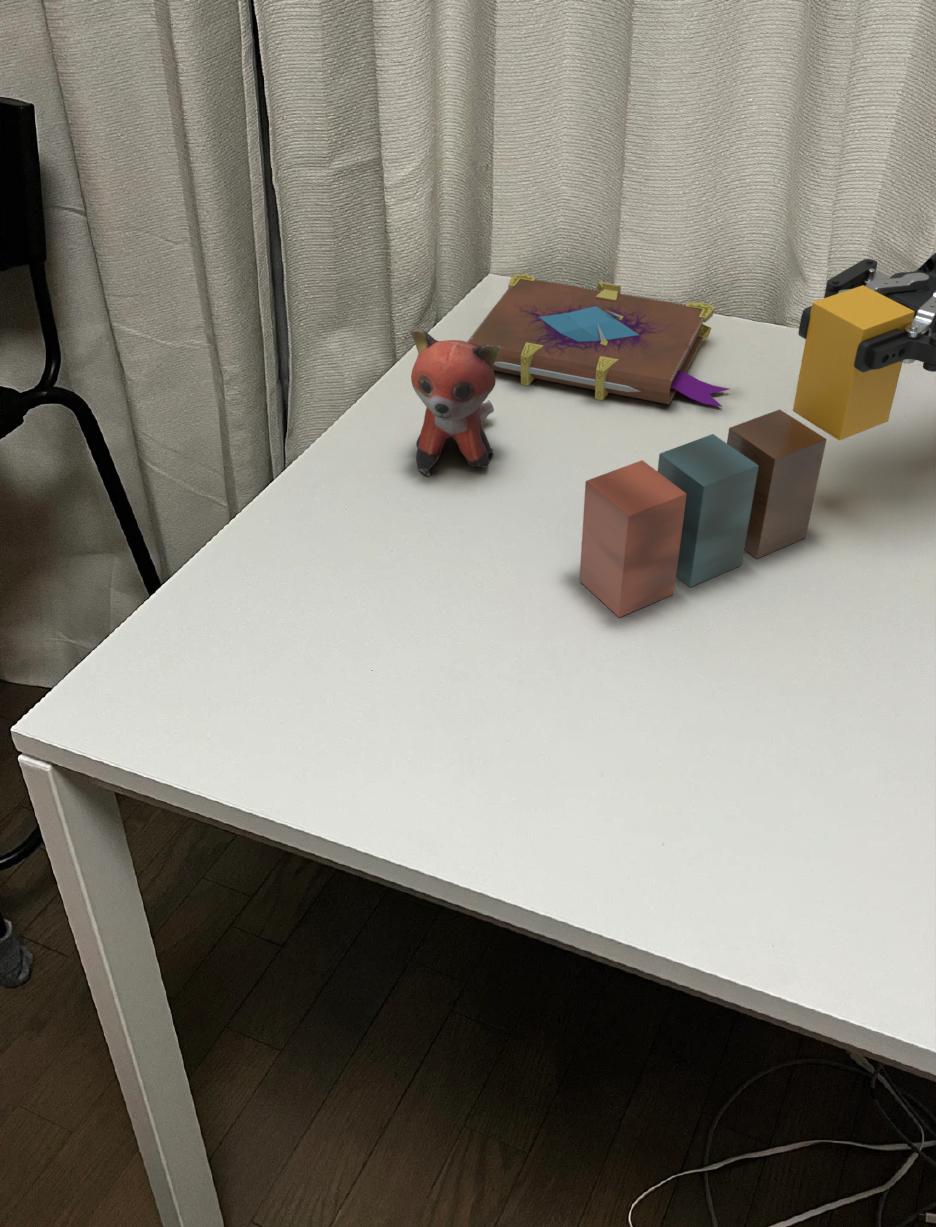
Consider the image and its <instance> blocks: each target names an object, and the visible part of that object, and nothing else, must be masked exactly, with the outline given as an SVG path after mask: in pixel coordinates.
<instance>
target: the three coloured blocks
mask: <svg viewBox="0 0 936 1227" xmlns="http://www.w3.org/2000/svg"><path fill="white" fill-rule="evenodd" d="M826 445H827V438H826V437H824V436H822V434H820V433H818V432H816V431H815V430H813V429H812V428H810V427H808V426H807V425H805V424H804V423H802V422H800V421H799V420H798V419H796V418H794V417H792V416H791V415H790V414H788V413H786V412H785V411H783V410H782V409H777V410H774V411H771V412H769V413H766V414H763V415H761V416H757V417H754V418H752V419H750V420H747V421H744V422H741V423H739V424H736V425H733V426H730V427H728V433H727V440H726V441H724V440H723V439H721V438H720V437H718V436H717V435H715V434H714V433H712V434H711V433H710V434H709V435H706V436H703V437H701V438H698V439H696V440H693V441H690V442H687V443H684V444H682V445H678V446H677V447H674V448H670V449H668V450H665V451H662V452H660V453H659V454H658V463H657V469H655V468H654V467H652V466H651V465H650V464H648V463H647V462H646V461H644V460H642V459H641V460H638V461H636V462H633V463H631V464H628V465H625V466H622V467H619V468H617V469H614V470H611V471H608V472H606V473H604V474H601V475H598V476H595V477H593V478H590V479H587V480H585V484H584V499H583V514H582V515H583V516H582V517H583V519H582V532H581V533H582V534H581V548H580V562H579V566H580V567H579V578H578V580H579V582H580V583H581V584H582V585H583V586H584V587H585V588H587V589H588V591H589V592H591V593H592V594H593V596H595V597H596V598H597V599H598V600H600V601H601V602H602V603H603V604H604V605H605V606H606V607H607V608H608V609H610V611H611V612H612V613H613V614H614V615H616V616H617V617H618V618H622V617H625V616H627V615H629V614H631V613H634V612H636V611H639V610H641V609H643V608H645V607H647V606H650V605H652V604H654V603H656V602H659V601H661V600H663V599H666V598H669V597H671V596H673V595H675V586H676V579H677V578H678V579H680V581H682V582H683V583H684V584H685V585H687V586H688V587H689V588H692V587H694V586H696V585H699V584H702V583H703V582H707V581H708V580H711V579H713V578H715V577H717V576H720V575H722V574H725V573H727V572H729V571H732V570H734V569H736V568H740V567H741V566H742V563H743V558H744V552H745V551H746V552H747V553H749V555H751V556H753V557H754V558H755V559H761V558H762V557H764V556H766V555H769V554H771V553H774V552H776V551H778V550H780V549H783V548H785V547H788V546H790V545H792V544H795V543H797V542H799V541H801V540H804V539H806V538H807V533H808V529H809V523H810V519H811V515H812V510H813V505H814V500H815V496H816V492H817V491H816V490H817V486H818V482H819V477H820V473H821V472H820V471H821V467H822V464H823V459H824V453H825V450H826Z"/></svg>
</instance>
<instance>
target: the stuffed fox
mask: <svg viewBox="0 0 936 1227" xmlns="http://www.w3.org/2000/svg"><path fill="white" fill-rule="evenodd" d="M410 334H411V337H412V339H413V342H414V344H415V347H416V350H417V353H418V354H417V357H416V360H415V362H414V364H413V366H412V370H411V374H410V382H411V386H412V388H413V390H414V392H415V394H416V395H417V397H418V398H419V399H420V400H421V402H422V403H423V404H424V406H425V407H426V408H425V413H424V417H423V423H422V427H421V430H420V433H419V436H418V438H417V440H416V444H415V445H416V448H417V450H416V456H415V460H416V465H417V468H418V470H419V471H420V472H421V473H422V474H423V475H424V476H425V477H430V476H431V473H430V469H431V468H432V467H433V466H434V465H435V464H436V462H437V461H438V460H439V458H440V456H441V454H442V453H441V452H442V450H443V448H444V445H445V443H446V441H447V439H449V438H452V439H454V441H455V442H456V444H457V445H458V449H459V452H460V453H461V455H463V457H464V458H465V459H466V461H467V464H468V466H470V467H473V468H474V467H479V468H481V467H482V468H485V469H488V466H489V465H490V459H491V457H492V456H493V455H494V448H491V446H490V442H489V440H488V437H487V434H486V433H485V429H484V427H483V423H484V422H485V420H486V419H487V418H488V416H490V414H493V413H494V412H495V408H494V405H493V403H492V402H491V401H490V400H487V399H488V397H489V395H490V394H491V393H492V391H493V390H494V388H495V386H496V376H495V371H494V370H493V365H494V363H495V361H496V359H497V357H498V353H499V352H500V350H501V347H500V346H497V345H494V344H485V345H482V346H479V347H475V346H474V345H472V344H470V343H468V342H467V341H465V340H458V339H448V340H447V339H446V340H437V339H435V338H434V337H433V336H432V335H431V334H429V333H428V332H426V331H425V330H422V329H412V330H411V331H410ZM486 400H487V401H486Z"/></svg>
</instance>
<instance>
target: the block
mask: <svg viewBox="0 0 936 1227" xmlns="http://www.w3.org/2000/svg"><path fill="white" fill-rule="evenodd" d="M811 306H812V308H811V314H810V320H809V325H808V331H807V336H806V339H805V341H804V347H803V353H802V357H801V363H800V368H799V375H798V378H797V383H796V384H797V385H796V389H795V390H796V391H795V396H794V402H793V405H792V406H793V407H792V412H793V413H794V414H796V415H798V416H799V417H801V418H803V419H804V420H806V421H807V422H809V423H810V424H812V425H814V426H815V427H817V428H818V429H820V430H822V431H823V432H825V433H826V434H828V435H830V436H831V437H833V438H834V439H836V440H838V441H843V440H845V439H847V438H850V437H852V436H855V435H857V434H860V433H862V432H865V431H868V430H870V429H872V428H876V427H878V426H879V425H882V424H884V423H887V422H889V420H890V415H891V410H892V406H893V403H894V398H895V394H896V390H897V387H898V382H899V378H900V375H901V370H902V366H903V363H902V362H897V363H894V364H892V365H889V366H885V367H884V368H881V369H874V370H869V371H867V372H861V371H859V370H858V369H856V368H855V367H854V362H855V357H856V352H857V348H858V345H859V344H860V343H861V342H862V341H864V340H866V339H869V338H872V337H874V336H877V335H880V334H883V333H886V332H888V331H891V330H894V329H897V328H898V329H900V330H902V331H904V329H905V326H906V325H908V324H909V323H910V322H912V321H913V317H914V313H915V311H913V310H911V309H909V308H907V307H905V306H903V305H901V304H899V303H897V302H895V301H893V300H891V299H889V298H887V297H885V296H883V295H881V294H879V293H877V292H875V291H873V290H871V289H869V288H868V287H866V286H864V285H862V286H860V287H857V288H854V289H851V290H848V291H845V292H842V293H839V294H836V295H833V296H830V297H827V298H824V297H823V298H821V299H817V300H815V301H813V302H812V304H811Z"/></svg>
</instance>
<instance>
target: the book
mask: <svg viewBox="0 0 936 1227" xmlns="http://www.w3.org/2000/svg"><path fill="white" fill-rule="evenodd" d="M507 287H508V288H507V289H506V291H505V292H504V293H503V294H502V296H501V297H500V298H499V300H498V301H497V302H496V304H494V306H493V307H492V309H491V310H490V312H488V314H487V315H486V316H485V318H484V319H483V321H482V322H481V323H480V324H479V325H478V327H477V328H476V330H475V331H474V332H473V334H472V335H471V336H470V337H469V338H468V340H467V341H466V342H468V343H470V344H472V345H474V346H475V347H479V346H482V345H485V344H494V345H497V346H500V347H501V350H500V352H499V353H498V357H497V359H496V361H495V363H494V365H493V371H494V372H499V373H503V374H508V375H509V374H511V375H515V376H520V385H522V386H528V387H529V386H530V385H531V384H532V382H533V381H534V380H535V379H536V380H541V381H547V382H550V383H556V384H561V385H567V386H570V387H571V386H572V387H577V388H582V389H588V390H592V391H595V392H594V399H595V400H597V401H604V400H605V398H606V397H607V396H608V394H613V395H618V396H623V397H628V398H634V399H637V400H638V399H640V400H644V401H648V402H653V403H659V404H665V405H671V403H672V401H673V398H674V397H675V395H676V393H677V392H679V394H682V395H684V396H685V397H687V398H688V399H690V400H693V401H696V402H698V403H700V404H703V405H708V406H715V407H722V408H723V406H724V405H723V406H722V404H721V403H720V402H718V401H717V400H716V399H715V398H714V397H713V396H712V395H713V394H717V393H720V392H725V391H728V390H730V388H728V387H723V386H719V385H714V384H711V383H707V382H705V381H703V380H700V379H698V378H696V377H695V376H692V375H691V374H689V373H687V372H688V369H689V367H690V365H691V363H692V362H693V359H694V358H695V356H696V354H697V352H698V350H699V348H700V346H701V344H702V343H703V342H704V341H705V340H706V339H707V338H709V336H710V334H711V331H712V327H711V326H709V325H706V324H705V323H707V322H708V321H709V320H710V319H711V318H712V317H713V316H714V313H715V311H716V306H714V305H711V304H710V303H707V302H690V301H689V302H687V303H686V304H685V303H680V302H674V301H669V300H668V301H667V300H661V299H655V298H648V297H644V296H638V295H632V294H626V293H621V291H622V290H621V289H622V285H621V284H613V283H610V282H604V280H600V281H598V284H597V287H596V288H589V287H583V286H578V285H573V284H566V283H559V282H555V281H548V280H543V279H542V280H541V279H536V277H534V276H532V275H528V274H525V273H516V274H515V273H514V274H512V275H511V276H510V279H509V282H508V284H507Z"/></svg>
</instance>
